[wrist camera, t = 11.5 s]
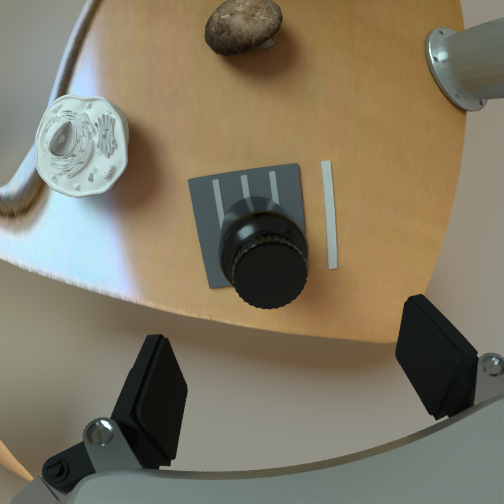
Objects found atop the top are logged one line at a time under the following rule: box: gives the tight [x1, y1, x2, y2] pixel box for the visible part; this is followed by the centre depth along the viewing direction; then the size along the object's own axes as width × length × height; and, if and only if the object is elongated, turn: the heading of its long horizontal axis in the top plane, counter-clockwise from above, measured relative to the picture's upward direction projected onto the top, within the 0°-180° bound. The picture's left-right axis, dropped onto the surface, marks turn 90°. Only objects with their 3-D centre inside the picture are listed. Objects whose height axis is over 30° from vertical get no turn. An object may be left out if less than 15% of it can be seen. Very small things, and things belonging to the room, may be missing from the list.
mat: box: [188, 163, 308, 289], centre depth 29 cm, size 11×12×1 cm
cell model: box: [35, 94, 129, 198], centre depth 22 cm, size 10×12×7 cm
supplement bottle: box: [218, 196, 309, 309], centre depth 23 cm, size 7×7×12 cm
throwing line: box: [320, 160, 337, 269], centre depth 29 cm, size 1×12×1 cm, turn 8°
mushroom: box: [205, 0, 283, 56], centre depth 20 cm, size 8×8×6 cm
